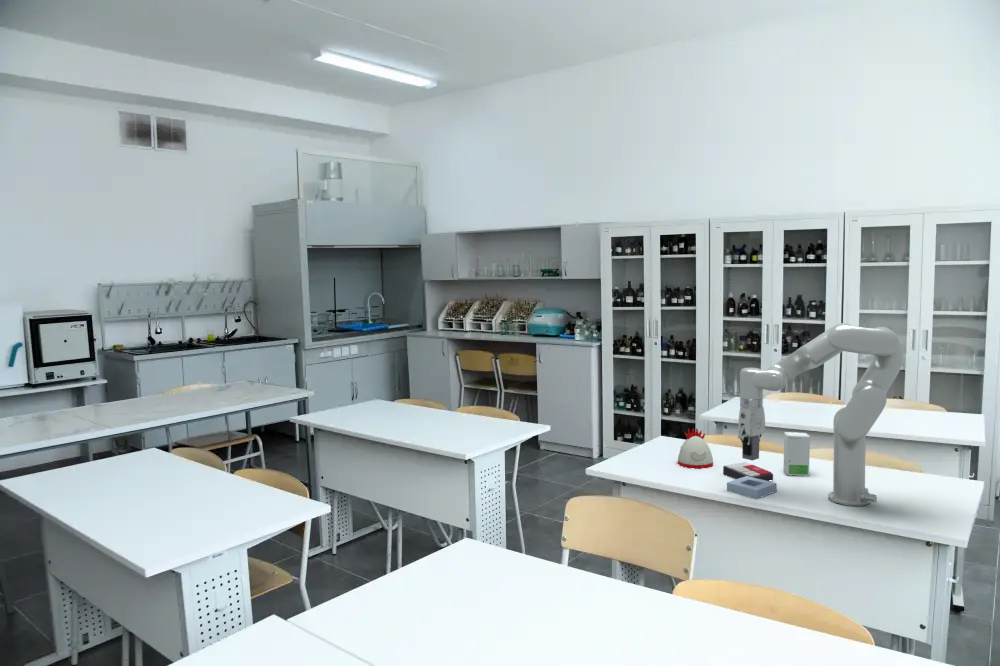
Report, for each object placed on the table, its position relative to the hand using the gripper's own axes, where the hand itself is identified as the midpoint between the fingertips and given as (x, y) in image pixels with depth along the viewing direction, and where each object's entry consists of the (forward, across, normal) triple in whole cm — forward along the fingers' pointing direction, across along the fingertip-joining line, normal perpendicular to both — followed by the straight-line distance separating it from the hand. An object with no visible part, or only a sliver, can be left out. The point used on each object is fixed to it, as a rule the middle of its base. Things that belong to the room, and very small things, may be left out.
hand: (750, 453), depth 242 cm
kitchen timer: (+14, +14, +35) cm, 40 cm away
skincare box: (+14, +31, +1) cm, 34 cm away
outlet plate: (+14, 0, 0) cm, 14 cm away
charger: (+2, 0, 0) cm, 2 cm away
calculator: (+14, +14, +10) cm, 22 cm away
